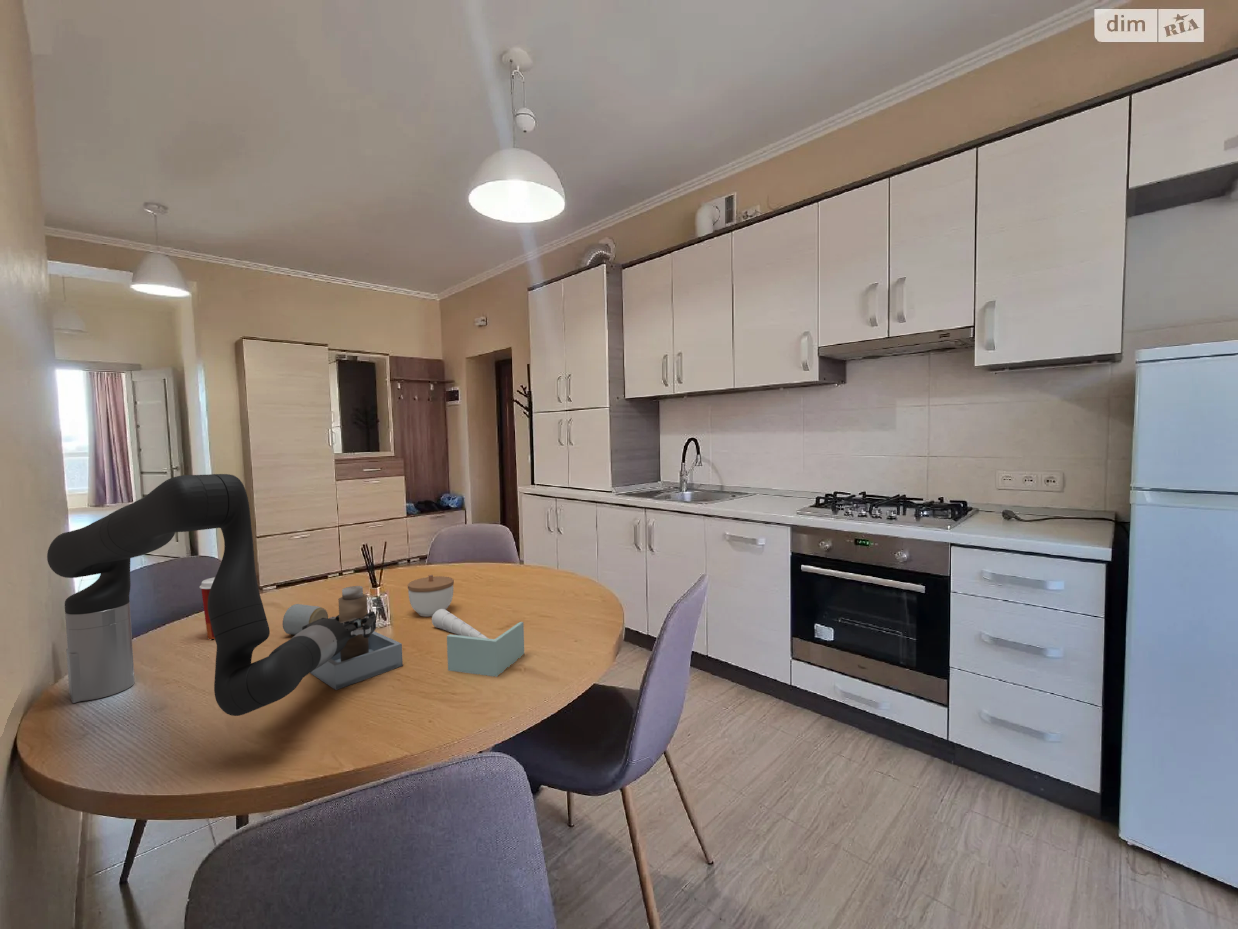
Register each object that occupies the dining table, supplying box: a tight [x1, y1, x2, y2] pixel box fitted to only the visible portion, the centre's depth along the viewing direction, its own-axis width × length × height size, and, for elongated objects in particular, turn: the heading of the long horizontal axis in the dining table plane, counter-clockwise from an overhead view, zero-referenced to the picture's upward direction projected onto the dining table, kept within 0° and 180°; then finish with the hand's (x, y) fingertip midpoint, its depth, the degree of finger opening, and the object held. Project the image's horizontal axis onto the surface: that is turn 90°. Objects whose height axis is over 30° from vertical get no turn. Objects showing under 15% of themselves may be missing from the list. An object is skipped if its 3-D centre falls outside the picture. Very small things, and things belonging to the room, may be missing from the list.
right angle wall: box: [446, 621, 525, 678], centre depth 115 cm, size 12×12×8 cm
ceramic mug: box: [282, 603, 329, 636], centre depth 137 cm, size 11×8×8 cm
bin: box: [309, 630, 404, 691], centre depth 113 cm, size 14×14×5 cm
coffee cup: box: [199, 577, 215, 640], centre depth 135 cm, size 8×8×15 cm
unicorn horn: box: [431, 609, 489, 639], centre depth 131 cm, size 5×24×5 cm, turn 48°
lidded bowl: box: [407, 574, 454, 618], centre depth 150 cm, size 13×13×11 cm
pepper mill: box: [338, 585, 369, 662], centre depth 112 cm, size 6×6×16 cm
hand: (359, 616), depth 115 cm, fingers closed on pepper mill, 5 cm apart
